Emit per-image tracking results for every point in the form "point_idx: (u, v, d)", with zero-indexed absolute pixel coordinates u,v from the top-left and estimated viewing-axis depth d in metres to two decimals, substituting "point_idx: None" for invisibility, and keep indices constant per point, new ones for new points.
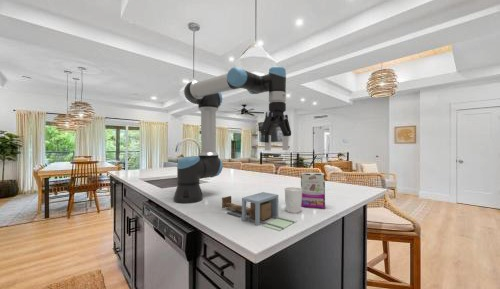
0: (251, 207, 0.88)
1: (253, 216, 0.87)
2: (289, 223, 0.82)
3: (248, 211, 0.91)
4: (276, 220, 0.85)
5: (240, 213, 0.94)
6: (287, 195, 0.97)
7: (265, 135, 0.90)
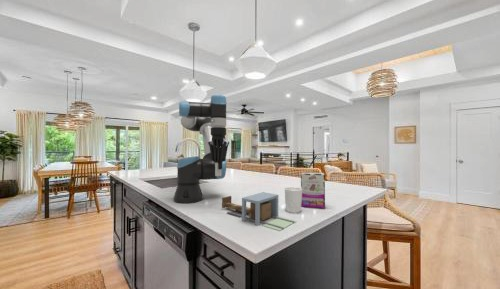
0: (251, 207, 0.88)
1: (253, 216, 0.87)
2: (289, 223, 0.82)
3: (248, 211, 0.91)
4: (276, 220, 0.85)
5: (240, 213, 0.94)
6: (287, 195, 0.97)
7: None
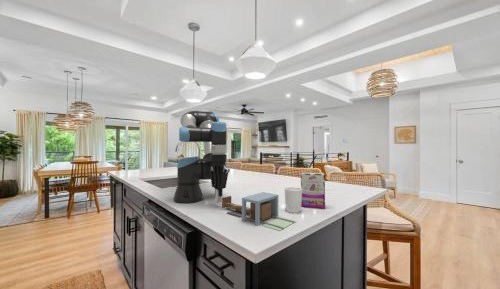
0: (251, 207, 0.88)
1: (253, 216, 0.87)
2: (289, 223, 0.82)
3: (248, 211, 0.91)
4: (276, 220, 0.85)
5: (240, 213, 0.94)
6: (287, 195, 0.97)
7: None
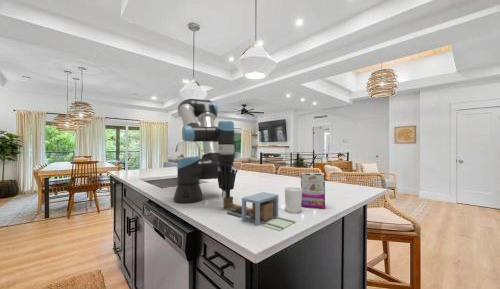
0: (253, 207, 0.87)
1: None
2: (289, 223, 0.82)
3: (250, 212, 0.91)
4: (276, 220, 0.85)
5: (240, 213, 0.94)
6: (287, 195, 0.97)
7: None
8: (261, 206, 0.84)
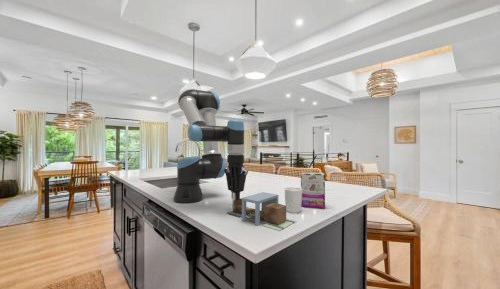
0: (265, 211, 0.83)
1: (268, 220, 0.82)
2: (289, 223, 0.82)
3: (262, 215, 0.87)
4: None
5: (240, 213, 0.94)
6: (287, 195, 0.97)
7: None
8: (274, 209, 0.80)
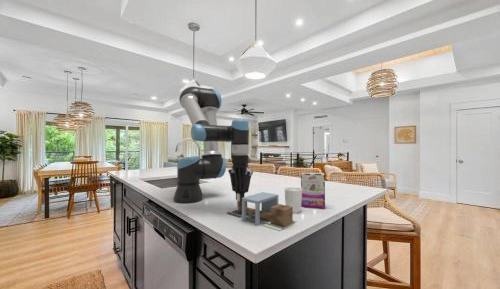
0: (271, 212, 0.81)
1: (274, 222, 0.80)
2: None
3: (267, 216, 0.85)
4: None
5: (240, 213, 0.94)
6: (287, 195, 0.97)
7: None
8: (281, 211, 0.79)
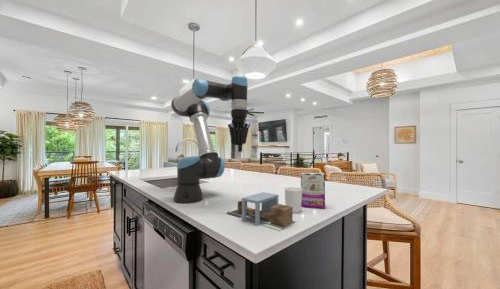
0: (271, 212, 0.81)
1: (274, 222, 0.80)
2: None
3: (267, 216, 0.85)
4: None
5: (240, 213, 0.94)
6: (287, 195, 0.97)
7: None
8: (280, 211, 0.79)
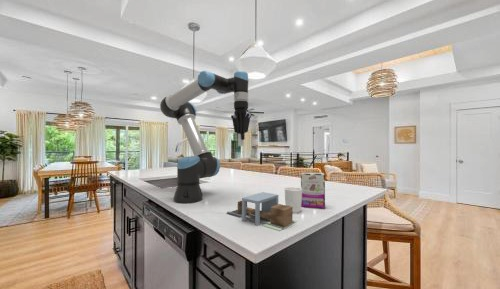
0: (271, 212, 0.81)
1: (274, 222, 0.80)
2: None
3: (267, 216, 0.85)
4: None
5: (240, 213, 0.94)
6: (287, 195, 0.97)
7: None
8: (280, 211, 0.79)
